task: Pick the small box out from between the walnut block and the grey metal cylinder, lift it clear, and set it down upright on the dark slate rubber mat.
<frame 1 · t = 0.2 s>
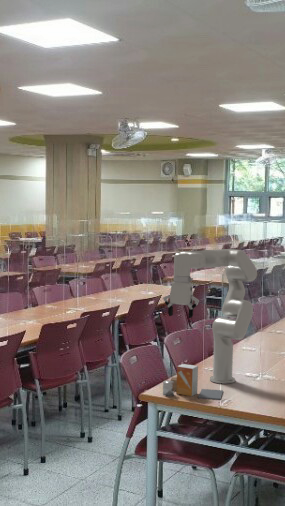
hand: (180, 316, 299), 36 cm above the table, tool pointing down, fingers open, 9 cm apart
grey metal cylinder: (168, 394, 298), on the table
slate mat: (210, 394, 299), on the table
small box: (186, 394, 300), on the table
walnut block: (176, 388, 308), on the table
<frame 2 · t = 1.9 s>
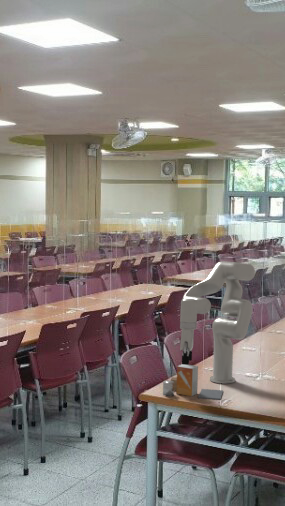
hand: (186, 362, 299), 15 cm above the table, tool pointing down, fingers open, 9 cm apart
nothing on the table moved.
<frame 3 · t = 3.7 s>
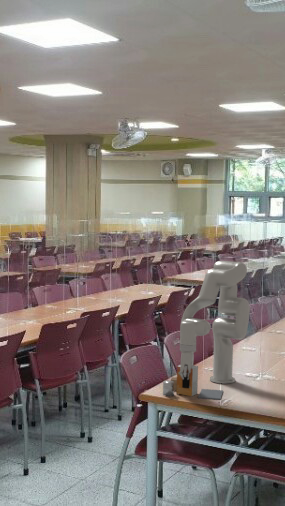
hand: (187, 385, 300), 4 cm above the table, tool pointing down, fingers closed on small box, 7 cm apart
small box: (186, 394, 300), on the table, touching gripper
everything else where it was.
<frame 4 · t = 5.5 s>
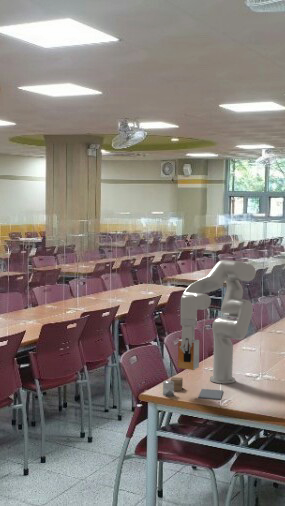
hand: (188, 359, 300), 16 cm above the table, tool pointing down, fingers closed on small box, 7 cm apart
small box: (188, 368, 300), point 12 cm above the table, touching gripper
everything else where it was.
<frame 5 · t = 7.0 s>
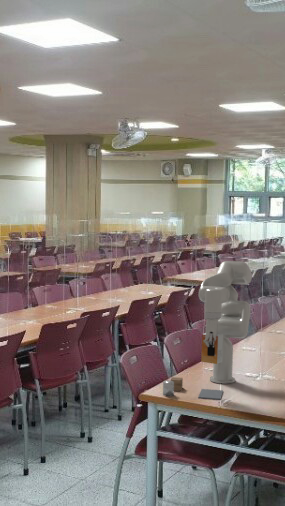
hand: (211, 353, 298), 19 cm above the table, tool pointing down, fingers closed on small box, 7 cm apart
small box: (211, 362, 298), point 15 cm above the table, touching gripper
everything else where it was.
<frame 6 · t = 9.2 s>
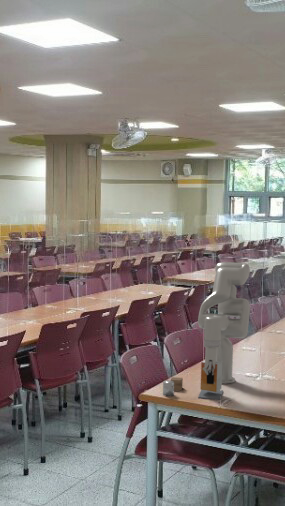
hand: (211, 381, 298), 6 cm above the table, tool pointing down, fingers closed on small box, 7 cm apart
small box: (210, 390, 299), point 2 cm above the table, touching gripper
everything else where it was.
when the fingers open (6 cm above the table, at t = 10.3 s): small box drops 1 cm, resting on slate mat.
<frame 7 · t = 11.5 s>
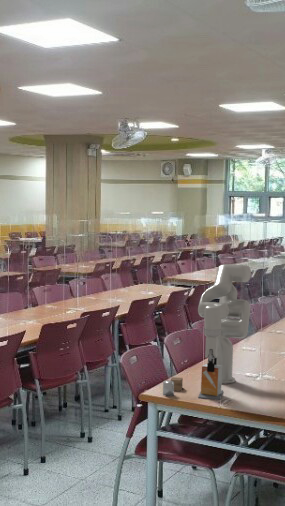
hand: (211, 368, 299), 12 cm above the table, tool pointing down, fingers open, 9 cm apart
small box: (211, 394, 298), resting on slate mat, touching gripper
everything else where it was.
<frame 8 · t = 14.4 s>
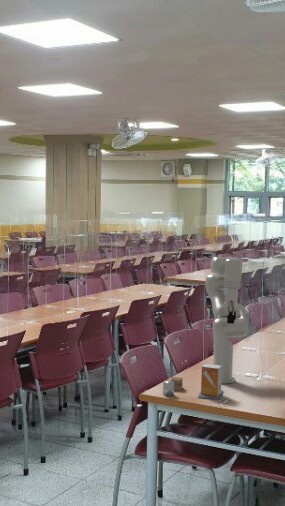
hand: (231, 321, 302), 33 cm above the table, tool pointing down, fingers open, 9 cm apart
small box: (211, 394, 298), resting on slate mat
everything else where it was.
at the end: small box inside the target area on the slate mat (0.4 cm from its centre), point 0.4 cm above the slate mat's base; small box tilted 0°; the gripper is holding nothing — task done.
